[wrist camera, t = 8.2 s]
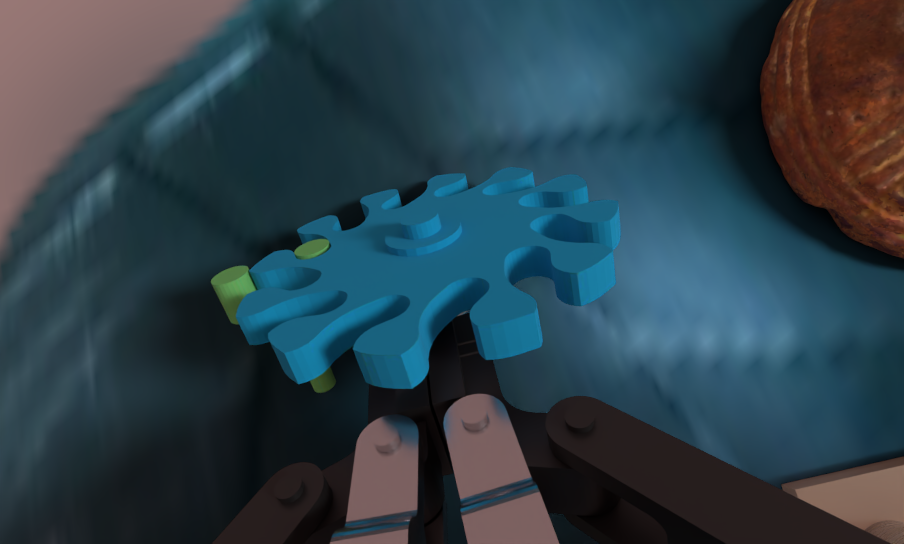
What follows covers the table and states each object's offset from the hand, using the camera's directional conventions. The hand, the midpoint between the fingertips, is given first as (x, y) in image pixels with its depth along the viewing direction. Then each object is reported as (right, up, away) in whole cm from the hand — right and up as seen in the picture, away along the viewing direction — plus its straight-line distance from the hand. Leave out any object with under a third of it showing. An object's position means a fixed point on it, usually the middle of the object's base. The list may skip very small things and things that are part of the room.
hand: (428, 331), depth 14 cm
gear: (0, +1, +4) cm, 4 cm away
